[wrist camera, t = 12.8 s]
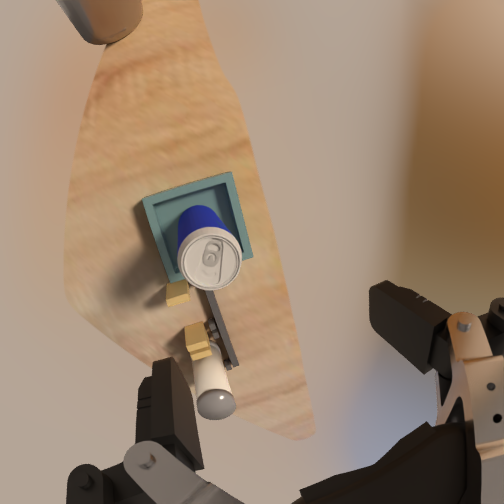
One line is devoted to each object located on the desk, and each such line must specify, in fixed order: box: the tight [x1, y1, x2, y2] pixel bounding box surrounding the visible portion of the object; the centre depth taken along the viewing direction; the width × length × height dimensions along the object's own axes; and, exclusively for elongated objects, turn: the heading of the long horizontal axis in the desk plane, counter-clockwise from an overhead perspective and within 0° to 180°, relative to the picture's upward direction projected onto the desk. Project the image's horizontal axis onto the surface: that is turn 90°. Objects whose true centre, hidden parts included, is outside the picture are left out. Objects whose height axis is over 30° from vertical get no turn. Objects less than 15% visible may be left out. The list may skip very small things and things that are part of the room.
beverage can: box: [177, 205, 242, 291], centre depth 28 cm, size 5×5×15 cm
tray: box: [142, 172, 253, 283], centre depth 35 cm, size 11×11×3 cm
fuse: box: [190, 340, 236, 420], centre depth 36 cm, size 5×5×12 cm
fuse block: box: [166, 279, 239, 371], centre depth 38 cm, size 17×6×5 cm, turn 14°
